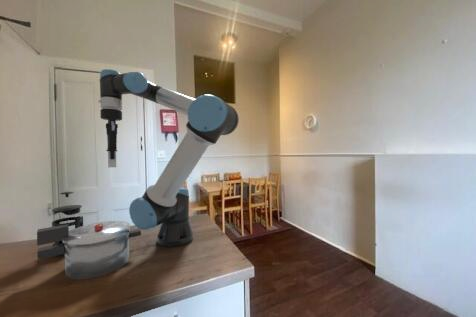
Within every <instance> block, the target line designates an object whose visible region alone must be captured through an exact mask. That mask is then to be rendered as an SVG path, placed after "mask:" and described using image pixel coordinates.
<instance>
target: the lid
mask: <svg viewBox="0 0 476 317" xmlns="http://www.w3.org/2000/svg"><path fill="white" fill-rule="evenodd" d="M69 227H70V226H69V224H66V225H60V226H55V227H52V226H50V227H43V228H38V229H37V231H36V244H37V246H43V245H47V244H54V243H55V242H58V241H62V242H63V244H65V245H67V246H90V245H96V244H101V243H105V242H109V241H112V240H115V239H118V238H120V237H122V236H124V235H126V234H127V233H128V232H129V231H131V224H130V223H129V222H128V221H127V222H126V221H121V220H110V221H109V220H107V221H100V222H94V223H90V224H89V223H88V224H85V225H83V226H81V227H78V228H75V227H74V228H73V229H70V230H69Z"/></svg>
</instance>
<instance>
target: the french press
mask: <svg viewBox="0 0 476 317" xmlns="http://www.w3.org/2000/svg"><path fill="white" fill-rule="evenodd" d="M74 193H75V192H74V191H63V192H60V193H59V194H60V195H64V196H65V198H66V205H64V206H63V205H62V206H57V207H54V208H52V209H51V212H53V214H52V215H53V216H55V215H56V214H59V213H62V214H63V215H66V217H62V218H59V219H56V220H54V221H53V220H52V222H51V227H55V226H60V225H66V224H69V227H72V226H74V229H75V228H78V227H81V226H84V216H83V215H78V216H71V215H76V214H79V213H81V208H83V207H82V205H80V204H73V205H72V204H70V205H69V200H68V199H69V196H70V194H71V195H72V194H74ZM69 221H70V222H69ZM62 243H63V242H62V241H58V242H53V243H52V245H57V244H62ZM56 257H65V253H64V254H61V255H57V256H56Z"/></svg>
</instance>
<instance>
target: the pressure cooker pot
mask: <svg viewBox="0 0 476 317" xmlns="http://www.w3.org/2000/svg"><path fill="white" fill-rule="evenodd" d="M141 230H142V229H139V228H138V229H135V230H130V231H129V232H128V233H127V234H126V235H124V236H122V237H120V238H118V239H115V240H112V241H109V242H105V243H101V244H96V245H90V246H67V245H65V244H63V243H62V244H57V245H53V244H52V245H48V246H43V247H39V248H38V249H37V260H43V259H48V258H53V257H58V256H57V255H61V254H64V253H65V256H64V270H65V271H64V274H65V276H66V277H67V278H68V279H71V280H89V279H94V278H98V277H102V276H105V275H107V274H110V273H113V272H115V271H116V270H117V271H118V269H120V268H121V267H123V266H124V265H126V263H128V261H129V259H130V239H131V238H134V237H139V236H142V231H141Z"/></svg>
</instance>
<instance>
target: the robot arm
mask: <svg viewBox="0 0 476 317" xmlns="http://www.w3.org/2000/svg"><path fill="white" fill-rule="evenodd" d="M99 74H100V75H99V90H100V91H99V93H100V94H99V96H100V97H99V98H100V99H98V103H100V108H101V109H100V119H102V120H105V121H107V123H106V124H105V130H106V135H107V136H106V137H107V138H106V139H107V140H106V141H107V149H106V152H107V168H109V169H110V168H117V152H118V149H117V148H118V146H117V142H118V141H117V139H118V136H117V134H118V128H119V124H118V123H117V122H118V121H119V122H120V121H122V120H123V111H122V110H123V98H122V97H123V95H134V96H137V97H139V98H141V99H145V100H148V101H151V102H153V103H154V104H155V103H156V104H158V105H160V106H163V107H166V108H168V109H170V110H173V111H175V112H178V113H180V114H183V115H185V116H187V120H188V121H187V123H186V124H185V128H186V133H185V135H184V137H183V138H182V140H181V142H180V143H179V145H178V146H177V148H176V149H175V151H174V153H173V155H172V156H171V157H170V160H169V161H168V163H167V164H166V166H165V168H164V169H163V171H162V172H161V174H160V176H159V177H158V179H157V180H156V182H155V184H153V185H150V186H148V187H147V189H146V190H145V191H144V194H142V196H141V197H136V198H135V199H133V200H132V201H131V203H130V204H129V207H128V208H129V210H128V211H129V212H128V213H129V216H130V220H131V221H132V223H133V225H134V226H135V227H136V228H138V230H139V229H140V230H142V231H146V230H150V229H154V228H156V227H157V226H160V227H159V230H158V233H157V238H156V242H157V244H158V245H160V246H162V247H178V246H183V245H185V244H188V243H190V242H191V241H192V240H193V238H194V231H193V229H192V228H193V227H192V225H191V224H190V218H189V217H190V216H189V215H190V210H189V209H190V207H189V206H190V205H189V204H190V195H189V190H188V188H187V187H183V186H184V184H185V183H186V181H187V180H188V178H189V177H190V175H191V174H192V172H193V170H194V169H195V168H196V166H197V164H198V163H199V161H200V160H201V158H202V156H203V155H204V153H205V152H206V151H207V149H208V147H209V146H211V145H215V144H217V142H218V141H219V138H220V137H221V136H228V135H230V134H232V133H233V132H234V131H236V129H237V127H238V125H239V119H240V118H239V113H238V112H237V110H236V109H235V108H234V107H233V106H232V105H231V104H228V103H227V102H225V101H224V100H223V99H222V98H220V97H218V96H215V95H213V94H203V95H200V96H197V97H196V98H193V97H190V96H189V95H188V96H187V95H184V94H183V93H179V92H177V91H174V90H171V89H168V88H166V87H163V86H160V85H157V84H155V83H153V82H151V81H149V80H147V78H146V76H144V74H143V73H142V72H139V71H128V72H125V73H120V72H119V71H118V70H115V69H111V68H109V69H107V68H106V69H104V68H103V69H102V70H101V71H100V73H99Z"/></svg>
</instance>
